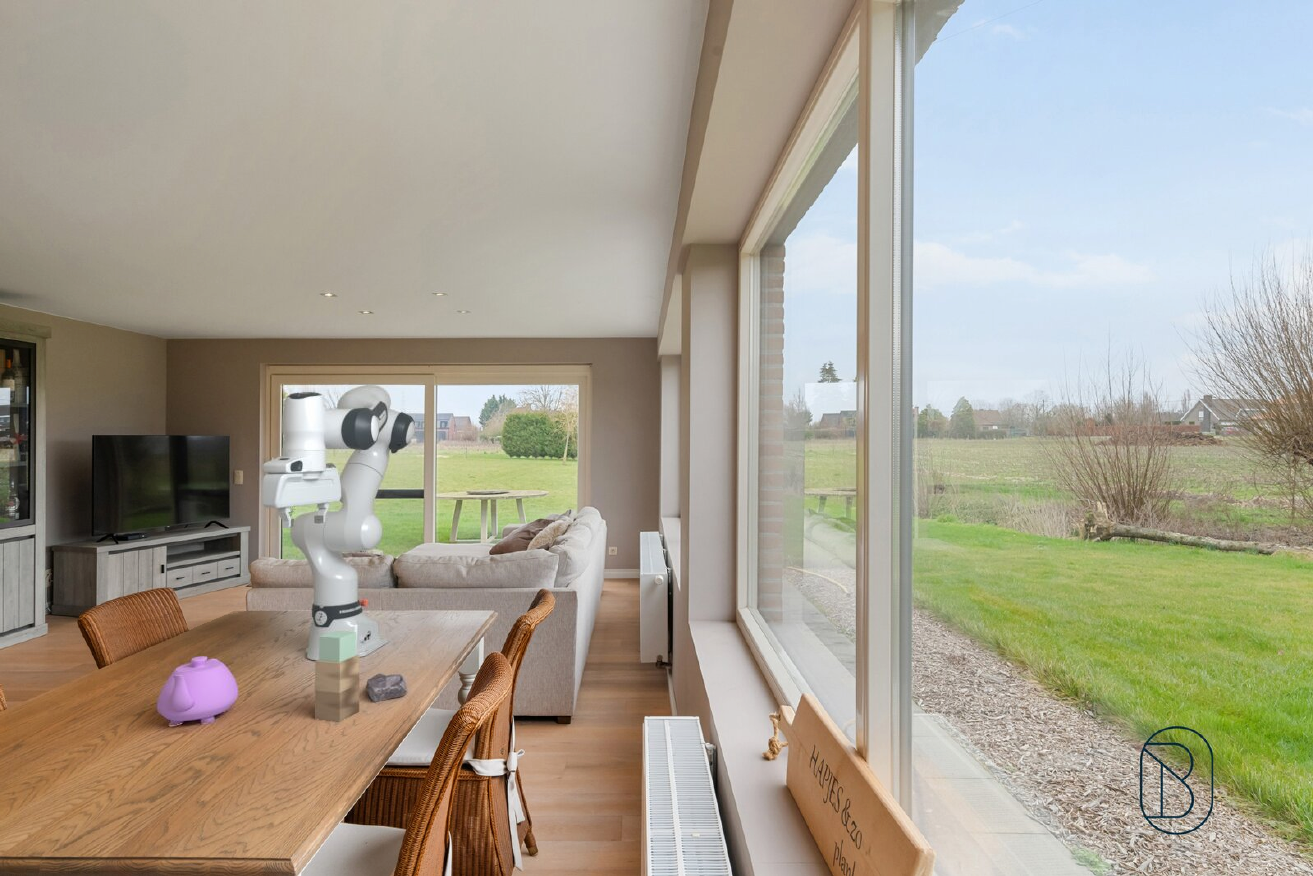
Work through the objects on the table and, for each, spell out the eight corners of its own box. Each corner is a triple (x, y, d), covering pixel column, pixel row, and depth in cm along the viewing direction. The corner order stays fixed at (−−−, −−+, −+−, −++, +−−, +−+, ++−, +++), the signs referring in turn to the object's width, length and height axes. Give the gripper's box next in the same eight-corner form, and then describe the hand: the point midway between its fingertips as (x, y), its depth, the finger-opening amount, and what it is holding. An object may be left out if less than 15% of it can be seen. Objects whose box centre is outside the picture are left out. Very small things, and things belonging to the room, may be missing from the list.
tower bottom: (335, 709, 150) (335, 681, 150) (359, 712, 148) (359, 683, 148) (315, 719, 144) (315, 690, 144) (339, 722, 142) (339, 693, 142)
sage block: (336, 654, 149) (336, 630, 149) (355, 655, 148) (356, 632, 148) (319, 660, 145) (319, 636, 145) (339, 662, 143) (339, 638, 143)
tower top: (335, 681, 150) (335, 653, 150) (359, 683, 148) (359, 655, 148) (315, 690, 144) (315, 661, 144) (339, 693, 142) (339, 663, 143)
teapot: (213, 735, 136) (213, 671, 136) (131, 742, 133) (132, 676, 133) (252, 700, 155) (252, 644, 156) (181, 704, 153) (182, 647, 153)
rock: (397, 684, 166) (397, 665, 166) (410, 698, 156) (410, 678, 157) (361, 691, 161) (361, 671, 161) (372, 706, 152) (372, 685, 152)
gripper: (325, 462, 167) (325, 520, 167) (256, 464, 147) (256, 530, 147) (348, 462, 166) (348, 521, 165) (281, 464, 146) (280, 531, 146)
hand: (304, 525), depth 156 cm, fingers open, 8 cm apart
